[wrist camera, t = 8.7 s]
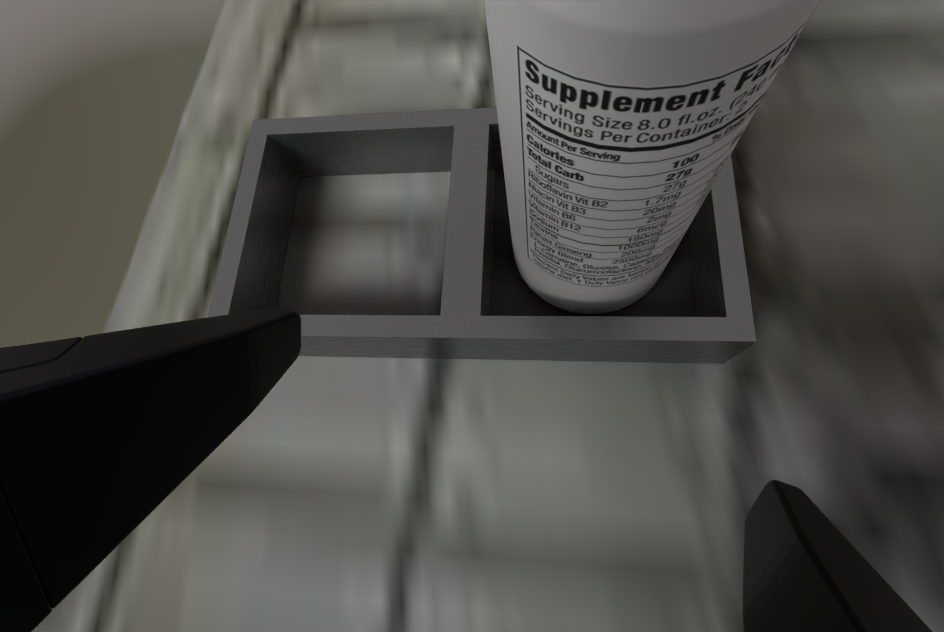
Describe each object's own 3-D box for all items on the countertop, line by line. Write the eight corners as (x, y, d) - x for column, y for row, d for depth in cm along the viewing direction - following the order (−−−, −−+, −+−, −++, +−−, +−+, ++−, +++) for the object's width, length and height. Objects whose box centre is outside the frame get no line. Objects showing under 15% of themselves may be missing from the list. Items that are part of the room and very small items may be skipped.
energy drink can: (662, 192, 21) (911, -405, 7) (663, 327, 19) (1006, -111, 5) (520, 188, 22) (484, -344, 8) (507, 316, 20) (433, -76, 6)
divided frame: (723, 363, 18) (756, 341, 16) (248, 354, 21) (203, 334, 18) (698, 146, 21) (722, 95, 19) (286, 162, 24) (253, 119, 21)
